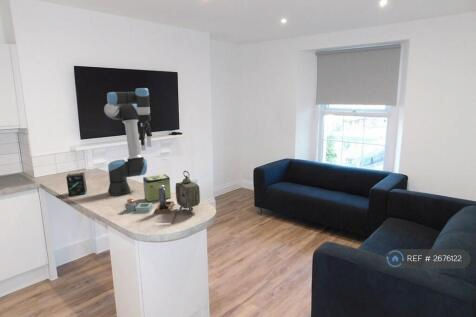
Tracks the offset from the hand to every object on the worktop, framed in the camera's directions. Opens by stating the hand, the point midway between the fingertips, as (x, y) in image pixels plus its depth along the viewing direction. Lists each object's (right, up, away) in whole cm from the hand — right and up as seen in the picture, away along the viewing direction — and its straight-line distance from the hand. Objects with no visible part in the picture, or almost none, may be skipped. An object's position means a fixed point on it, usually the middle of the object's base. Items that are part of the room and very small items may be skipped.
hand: (146, 148), depth 197 cm
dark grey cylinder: (+12, -38, -7) cm, 40 cm away
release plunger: (-8, -36, -5) cm, 37 cm away
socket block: (-3, -38, -4) cm, 39 cm away
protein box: (+3, -34, +17) cm, 38 cm away
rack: (+12, -38, -3) cm, 40 cm away
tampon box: (-60, -32, +34) cm, 76 cm away
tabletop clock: (+27, -38, -5) cm, 47 cm away
